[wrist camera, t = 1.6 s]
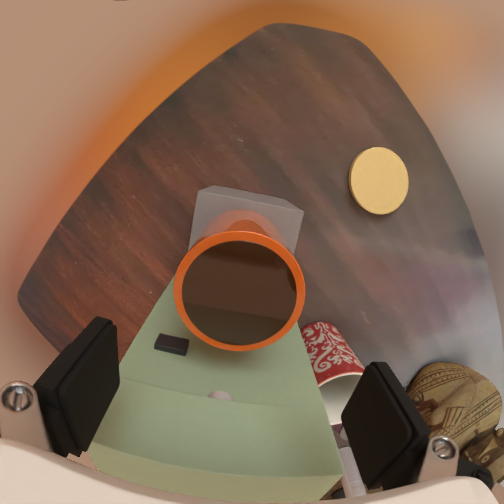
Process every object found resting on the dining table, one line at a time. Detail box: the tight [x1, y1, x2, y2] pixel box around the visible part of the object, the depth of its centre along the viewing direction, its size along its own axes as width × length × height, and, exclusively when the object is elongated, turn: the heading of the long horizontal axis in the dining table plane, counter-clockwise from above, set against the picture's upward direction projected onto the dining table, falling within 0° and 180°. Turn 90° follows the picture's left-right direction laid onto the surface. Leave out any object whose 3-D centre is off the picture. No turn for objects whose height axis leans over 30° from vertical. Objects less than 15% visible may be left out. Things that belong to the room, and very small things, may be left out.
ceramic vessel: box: [407, 362, 504, 483], centre depth 31 cm, size 19×21×30 cm
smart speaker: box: [332, 489, 346, 500], centre depth 56 cm, size 9×9×4 cm
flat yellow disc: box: [348, 147, 408, 214], centre depth 34 cm, size 9×9×1 cm
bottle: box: [338, 447, 367, 498], centre depth 40 cm, size 4×4×20 cm
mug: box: [300, 322, 365, 425], centre depth 34 cm, size 13×9×14 cm
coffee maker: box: [88, 185, 344, 503], centre depth 22 cm, size 14×15×29 cm
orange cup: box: [173, 209, 305, 351], centre depth 20 cm, size 7×7×9 cm
